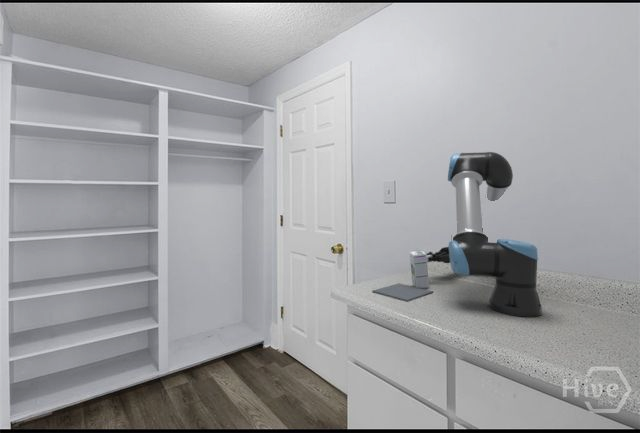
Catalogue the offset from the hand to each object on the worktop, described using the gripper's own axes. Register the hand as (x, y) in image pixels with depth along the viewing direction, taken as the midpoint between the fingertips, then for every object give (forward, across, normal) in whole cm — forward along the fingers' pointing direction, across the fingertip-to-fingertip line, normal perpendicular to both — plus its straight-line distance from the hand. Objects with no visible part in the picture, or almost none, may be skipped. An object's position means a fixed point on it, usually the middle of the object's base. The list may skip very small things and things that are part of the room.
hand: (422, 259), depth 138 cm
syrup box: (+3, -1, -11) cm, 11 cm away
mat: (+16, -1, -11) cm, 19 cm away
